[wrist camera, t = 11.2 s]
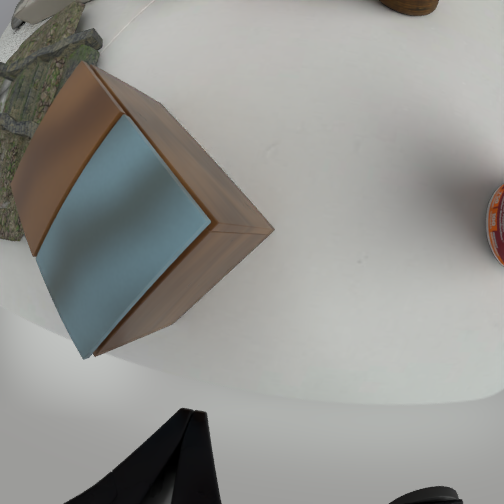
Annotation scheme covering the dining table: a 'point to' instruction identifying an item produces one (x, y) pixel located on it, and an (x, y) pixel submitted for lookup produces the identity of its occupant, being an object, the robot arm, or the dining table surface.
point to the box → (41, 9)
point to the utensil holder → (412, 6)
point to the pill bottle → (496, 224)
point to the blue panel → (115, 235)
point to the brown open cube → (176, 158)
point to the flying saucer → (16, 21)
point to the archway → (36, 94)
